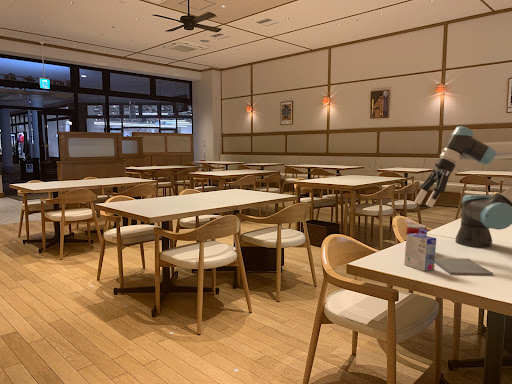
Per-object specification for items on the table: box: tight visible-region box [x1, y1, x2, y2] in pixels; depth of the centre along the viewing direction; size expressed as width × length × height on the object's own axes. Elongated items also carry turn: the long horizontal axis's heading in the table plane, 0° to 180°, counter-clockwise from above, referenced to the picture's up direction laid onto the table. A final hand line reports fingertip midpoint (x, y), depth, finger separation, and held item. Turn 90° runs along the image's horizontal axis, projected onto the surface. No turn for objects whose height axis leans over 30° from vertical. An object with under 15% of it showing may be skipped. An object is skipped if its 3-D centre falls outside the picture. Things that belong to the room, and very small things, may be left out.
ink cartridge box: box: [403, 229, 437, 272], centre depth 148 cm, size 10×6×14 cm, turn 27°
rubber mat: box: [434, 257, 494, 276], centre depth 149 cm, size 15×18×1 cm
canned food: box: [406, 223, 428, 235], centre depth 174 cm, size 8×8×11 cm
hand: (422, 204), depth 170 cm, fingers open, 13 cm apart
